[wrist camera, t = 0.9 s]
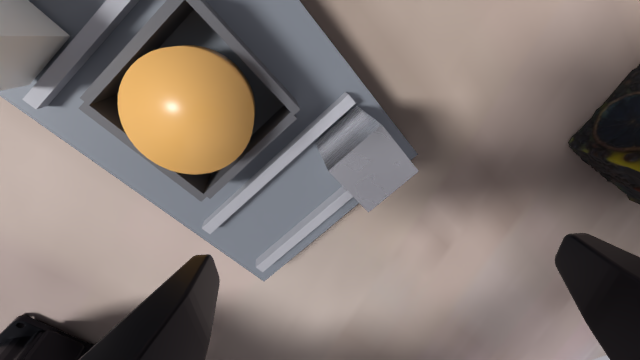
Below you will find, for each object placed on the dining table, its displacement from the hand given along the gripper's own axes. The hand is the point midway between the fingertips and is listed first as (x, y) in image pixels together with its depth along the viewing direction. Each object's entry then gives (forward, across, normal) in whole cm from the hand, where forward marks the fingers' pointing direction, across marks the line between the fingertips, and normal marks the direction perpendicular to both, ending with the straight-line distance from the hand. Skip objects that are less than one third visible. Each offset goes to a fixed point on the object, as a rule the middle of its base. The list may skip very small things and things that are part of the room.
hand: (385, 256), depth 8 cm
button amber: (+8, +7, -2) cm, 11 cm away
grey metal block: (+10, 0, +1) cm, 10 cm away
